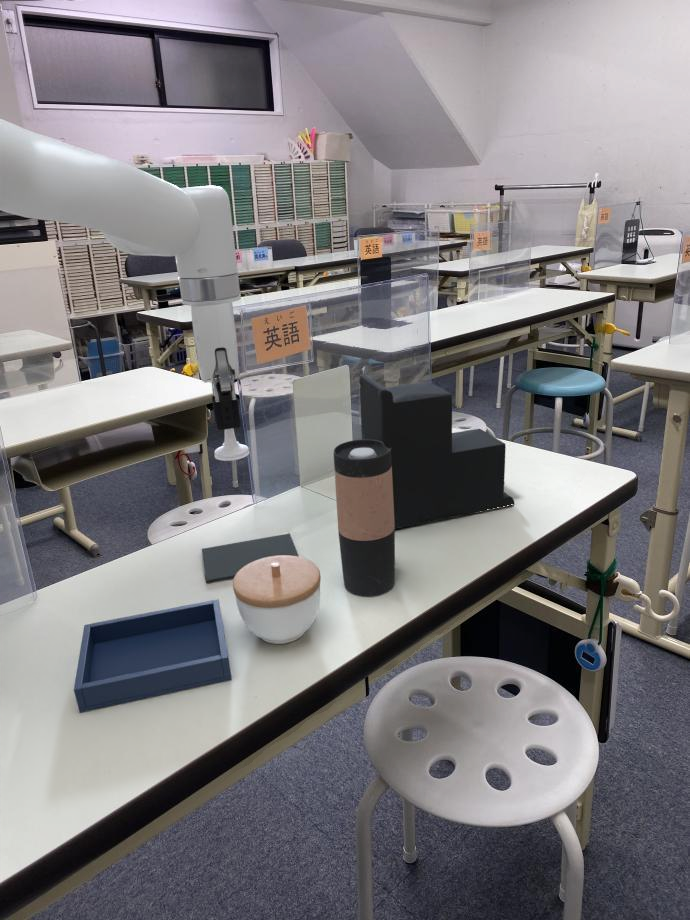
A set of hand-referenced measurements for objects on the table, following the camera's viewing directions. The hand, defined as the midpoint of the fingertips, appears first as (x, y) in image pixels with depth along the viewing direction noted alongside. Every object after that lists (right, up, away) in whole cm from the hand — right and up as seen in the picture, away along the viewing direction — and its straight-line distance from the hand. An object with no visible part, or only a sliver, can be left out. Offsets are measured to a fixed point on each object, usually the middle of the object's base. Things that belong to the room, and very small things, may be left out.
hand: (227, 424), depth 95 cm
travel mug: (+20, -22, +1) cm, 30 cm away
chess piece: (0, -4, +2) cm, 5 cm away
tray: (-6, -29, -13) cm, 32 cm away
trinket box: (+8, -27, -8) cm, 29 cm away
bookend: (+32, -13, +22) cm, 41 cm away
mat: (+2, -20, +9) cm, 22 cm away
